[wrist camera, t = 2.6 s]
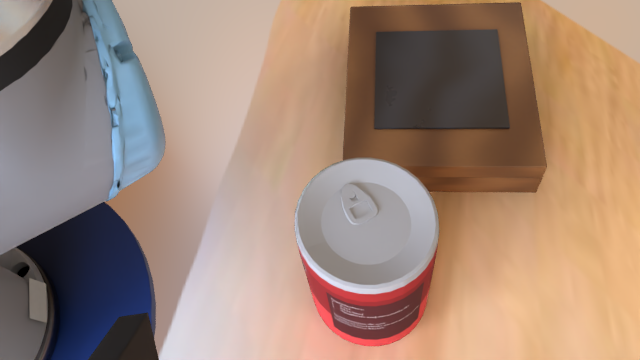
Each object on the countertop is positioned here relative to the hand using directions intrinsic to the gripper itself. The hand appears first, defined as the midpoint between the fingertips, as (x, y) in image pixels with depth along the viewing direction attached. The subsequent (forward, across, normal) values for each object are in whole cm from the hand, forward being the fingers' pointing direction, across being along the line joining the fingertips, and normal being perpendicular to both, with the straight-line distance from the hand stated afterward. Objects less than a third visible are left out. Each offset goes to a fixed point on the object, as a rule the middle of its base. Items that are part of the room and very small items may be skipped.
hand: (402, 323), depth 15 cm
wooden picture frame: (+34, +8, +1) cm, 35 cm away
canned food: (+24, 0, -10) cm, 26 cm away
